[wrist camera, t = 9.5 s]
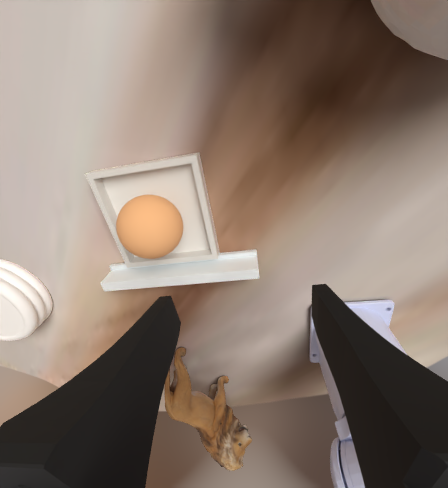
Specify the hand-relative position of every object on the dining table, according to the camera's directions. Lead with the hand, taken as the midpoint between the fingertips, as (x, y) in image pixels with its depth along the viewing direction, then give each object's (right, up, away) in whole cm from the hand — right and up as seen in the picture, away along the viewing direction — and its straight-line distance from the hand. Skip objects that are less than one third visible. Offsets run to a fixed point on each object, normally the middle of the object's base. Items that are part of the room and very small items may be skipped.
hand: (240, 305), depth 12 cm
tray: (-6, +6, +9) cm, 12 cm away
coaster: (-26, -2, +15) cm, 30 cm away
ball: (-7, +6, +8) cm, 12 cm away
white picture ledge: (-5, +1, +11) cm, 12 cm away
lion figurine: (-3, -15, +20) cm, 25 cm away
